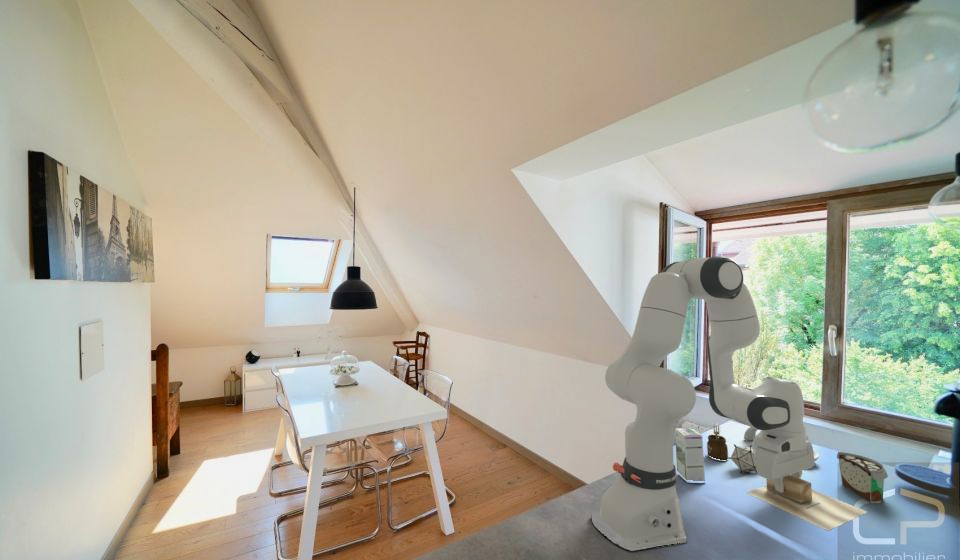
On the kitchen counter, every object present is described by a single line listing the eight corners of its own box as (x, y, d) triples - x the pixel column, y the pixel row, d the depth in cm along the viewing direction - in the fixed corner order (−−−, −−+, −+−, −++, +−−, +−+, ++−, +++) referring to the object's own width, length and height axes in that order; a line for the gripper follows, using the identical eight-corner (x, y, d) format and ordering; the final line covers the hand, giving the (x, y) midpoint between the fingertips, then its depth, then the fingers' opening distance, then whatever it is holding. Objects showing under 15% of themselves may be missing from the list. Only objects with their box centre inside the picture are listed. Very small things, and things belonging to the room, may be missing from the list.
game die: (753, 486, 112) (765, 470, 106) (722, 469, 117) (731, 453, 111) (759, 464, 117) (770, 447, 112) (729, 449, 122) (738, 432, 117)
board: (828, 536, 83) (827, 530, 84) (746, 496, 100) (745, 492, 100) (868, 516, 90) (868, 511, 90) (785, 482, 107) (785, 478, 107)
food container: (904, 513, 91) (901, 473, 92) (875, 510, 93) (873, 471, 93) (863, 487, 103) (861, 452, 104) (838, 486, 105) (836, 450, 105)
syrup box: (706, 483, 107) (703, 434, 108) (686, 484, 107) (683, 434, 108) (695, 474, 113) (692, 427, 114) (676, 474, 113) (674, 427, 114)
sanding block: (801, 504, 94) (800, 487, 94) (767, 489, 101) (766, 473, 101) (812, 500, 96) (811, 482, 96) (777, 485, 103) (776, 469, 103)
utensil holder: (727, 456, 125) (725, 421, 125) (728, 463, 119) (726, 427, 120) (707, 452, 128) (705, 418, 128) (707, 459, 123) (705, 424, 123)
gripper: (793, 427, 106) (796, 475, 105) (749, 439, 98) (751, 491, 98) (820, 435, 100) (823, 485, 100) (775, 448, 93) (778, 503, 92)
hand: (787, 488), depth 99 cm, fingers closed on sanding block, 5 cm apart
